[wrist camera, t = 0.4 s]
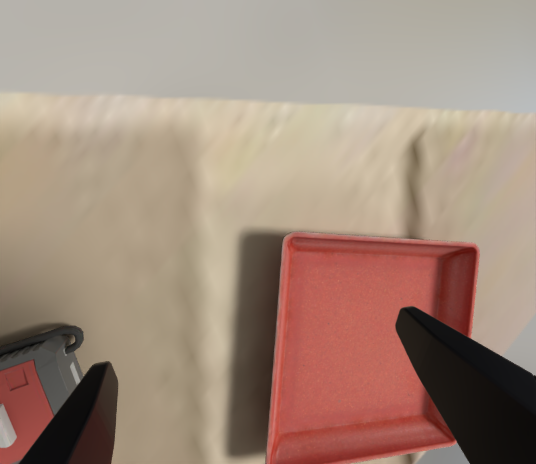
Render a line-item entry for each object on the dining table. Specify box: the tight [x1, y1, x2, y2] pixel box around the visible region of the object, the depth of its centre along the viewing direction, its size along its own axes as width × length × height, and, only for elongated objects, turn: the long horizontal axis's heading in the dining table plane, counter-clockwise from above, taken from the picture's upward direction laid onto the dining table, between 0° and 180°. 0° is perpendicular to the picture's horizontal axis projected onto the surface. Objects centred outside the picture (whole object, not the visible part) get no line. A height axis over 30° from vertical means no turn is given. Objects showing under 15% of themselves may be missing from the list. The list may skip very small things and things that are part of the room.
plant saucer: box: [265, 232, 480, 464], centre depth 27 cm, size 18×18×3 cm
